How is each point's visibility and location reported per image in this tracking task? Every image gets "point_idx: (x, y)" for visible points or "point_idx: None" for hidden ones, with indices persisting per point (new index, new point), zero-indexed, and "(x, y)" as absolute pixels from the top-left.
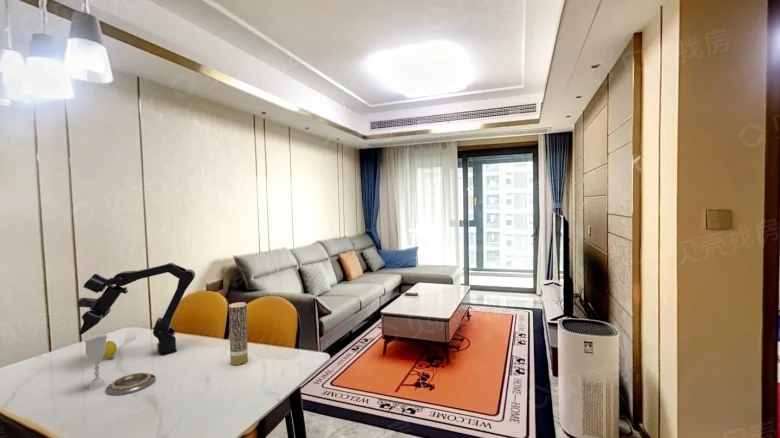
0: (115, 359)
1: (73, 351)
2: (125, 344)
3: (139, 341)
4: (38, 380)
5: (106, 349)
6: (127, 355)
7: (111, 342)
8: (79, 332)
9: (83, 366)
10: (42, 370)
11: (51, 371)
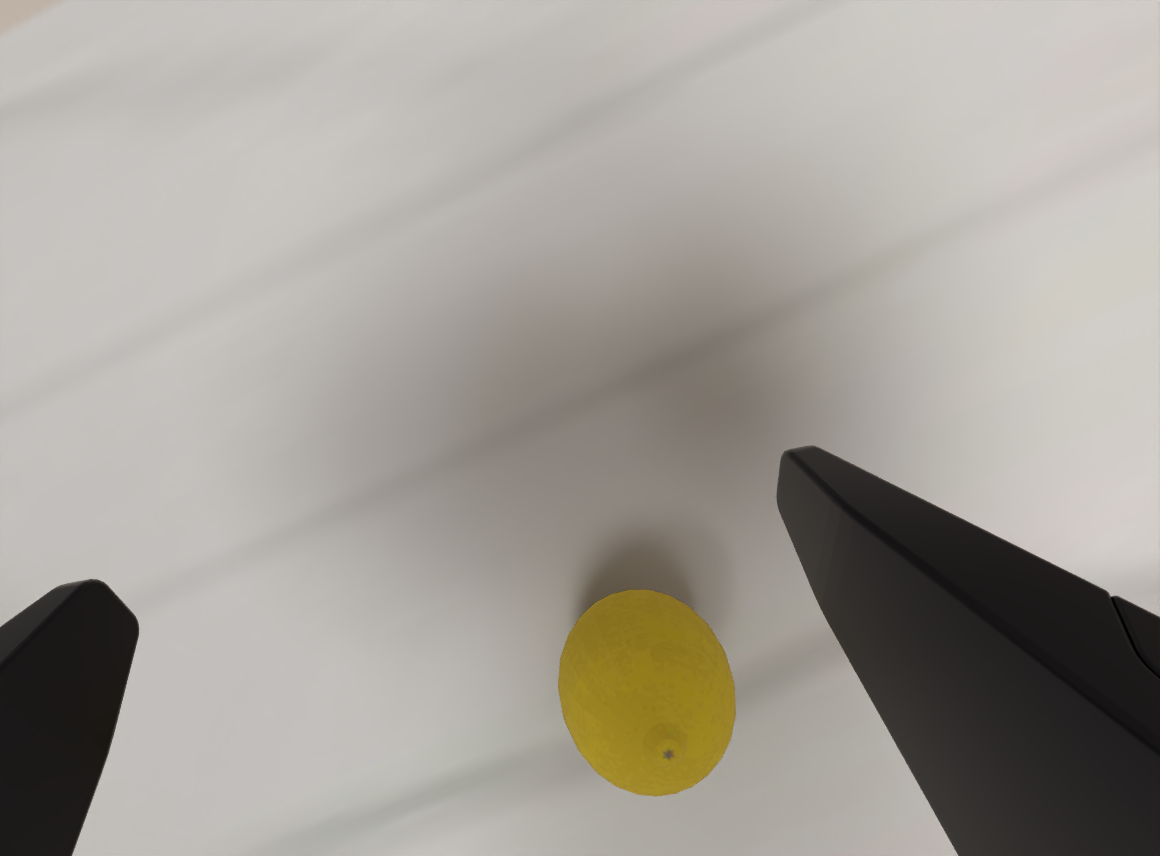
0: None
1: (1031, 118)
2: None
3: None
4: (212, 189)
5: (561, 704)
6: None
7: (646, 782)
8: (31, 605)
9: (473, 461)
10: (502, 80)
11: (436, 192)
